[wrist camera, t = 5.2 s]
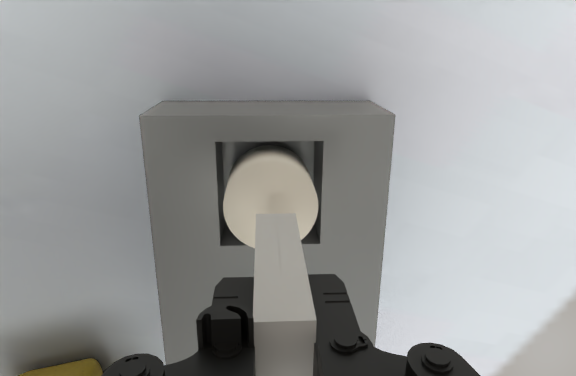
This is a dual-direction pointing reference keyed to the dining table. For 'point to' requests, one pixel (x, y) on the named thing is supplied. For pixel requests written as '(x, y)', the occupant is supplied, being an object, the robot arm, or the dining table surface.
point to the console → (212, 185)
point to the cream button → (268, 191)
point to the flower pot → (69, 369)
